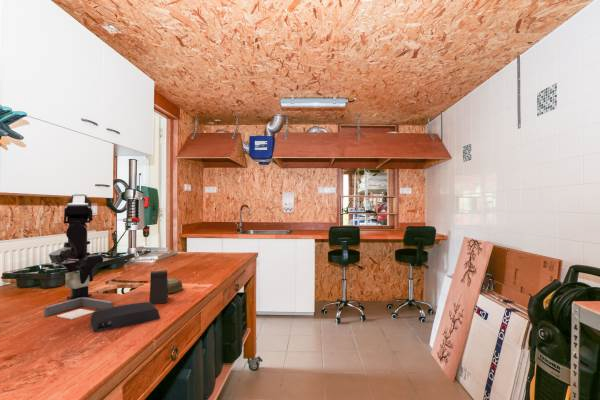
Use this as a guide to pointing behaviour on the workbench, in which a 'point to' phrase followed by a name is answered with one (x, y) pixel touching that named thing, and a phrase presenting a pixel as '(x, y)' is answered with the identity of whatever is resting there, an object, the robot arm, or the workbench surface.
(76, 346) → the workbench surface
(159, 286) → the phone stand
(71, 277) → the cube
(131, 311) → the external hard drive
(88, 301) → the l-shaped corner bracket
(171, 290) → the weight
